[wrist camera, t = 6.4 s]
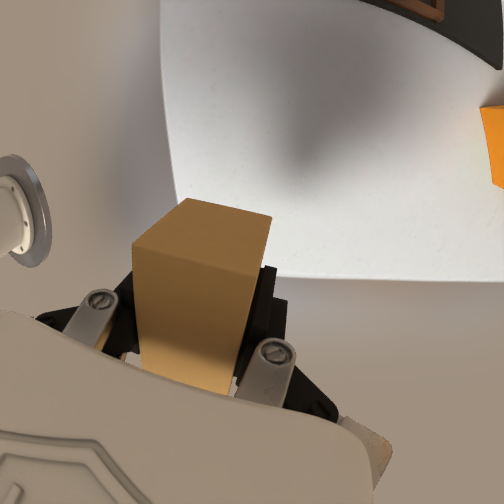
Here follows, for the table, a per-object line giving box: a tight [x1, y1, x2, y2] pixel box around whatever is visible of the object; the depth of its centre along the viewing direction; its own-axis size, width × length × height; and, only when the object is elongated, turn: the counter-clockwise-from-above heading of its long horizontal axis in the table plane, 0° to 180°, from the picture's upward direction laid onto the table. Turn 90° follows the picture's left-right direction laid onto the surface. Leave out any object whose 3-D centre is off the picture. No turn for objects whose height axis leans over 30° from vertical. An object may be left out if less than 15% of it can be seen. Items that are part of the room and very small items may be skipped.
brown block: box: [132, 198, 272, 396], centre depth 11 cm, size 4×7×4 cm, turn 169°
